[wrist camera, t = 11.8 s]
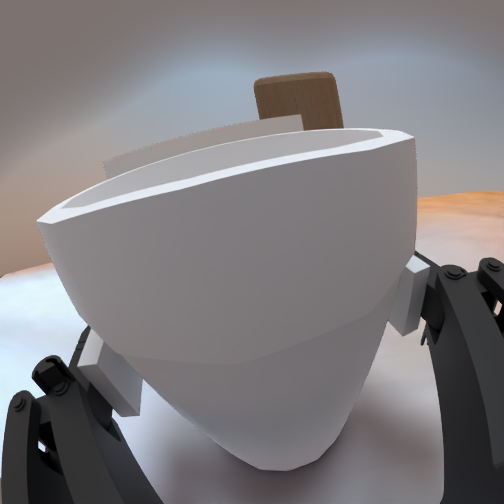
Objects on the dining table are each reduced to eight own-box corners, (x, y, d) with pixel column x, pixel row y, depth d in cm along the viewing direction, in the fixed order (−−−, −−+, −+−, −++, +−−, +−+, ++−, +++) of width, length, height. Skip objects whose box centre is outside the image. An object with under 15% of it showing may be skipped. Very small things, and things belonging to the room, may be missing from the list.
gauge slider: (321, 283, 21) (300, 114, 16) (120, 335, 20) (54, 182, 14) (297, 255, 26) (276, 119, 21) (130, 299, 24) (82, 171, 19)
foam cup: (392, 380, 13) (418, 127, 7) (316, 526, 6) (346, 274, 1) (258, 341, 18) (211, 145, 13) (164, 437, 12) (24, 218, 6)
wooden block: (280, 235, 35) (251, 78, 26) (276, 211, 44) (253, 89, 35) (354, 224, 34) (335, 69, 25) (335, 202, 43) (318, 81, 34)
